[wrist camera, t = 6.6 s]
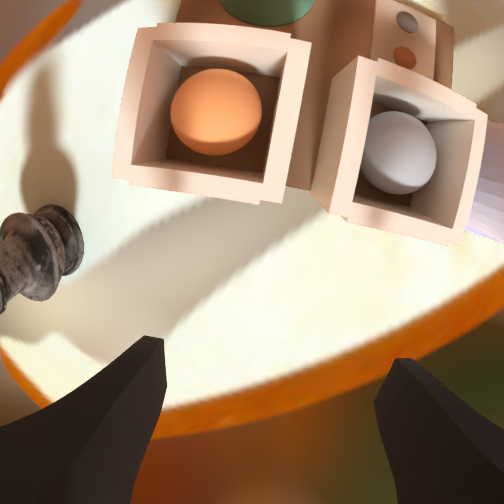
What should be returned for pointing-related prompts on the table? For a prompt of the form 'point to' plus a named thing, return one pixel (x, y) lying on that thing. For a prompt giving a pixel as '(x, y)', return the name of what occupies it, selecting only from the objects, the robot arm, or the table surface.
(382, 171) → the grey ball
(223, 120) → the orange ball
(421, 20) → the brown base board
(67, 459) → the robot arm
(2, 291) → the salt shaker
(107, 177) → the table surface
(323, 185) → the open square box
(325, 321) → the table surface
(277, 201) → the beige open box
